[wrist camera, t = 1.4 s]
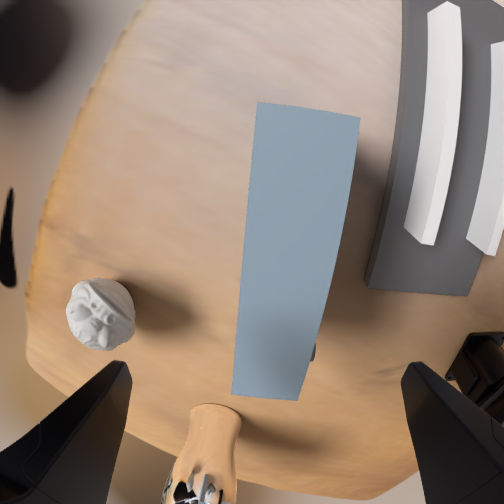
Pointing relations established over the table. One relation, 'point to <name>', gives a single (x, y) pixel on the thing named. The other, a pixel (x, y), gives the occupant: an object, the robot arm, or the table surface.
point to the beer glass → (206, 459)
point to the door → (290, 243)
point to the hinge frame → (444, 150)
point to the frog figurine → (101, 314)
